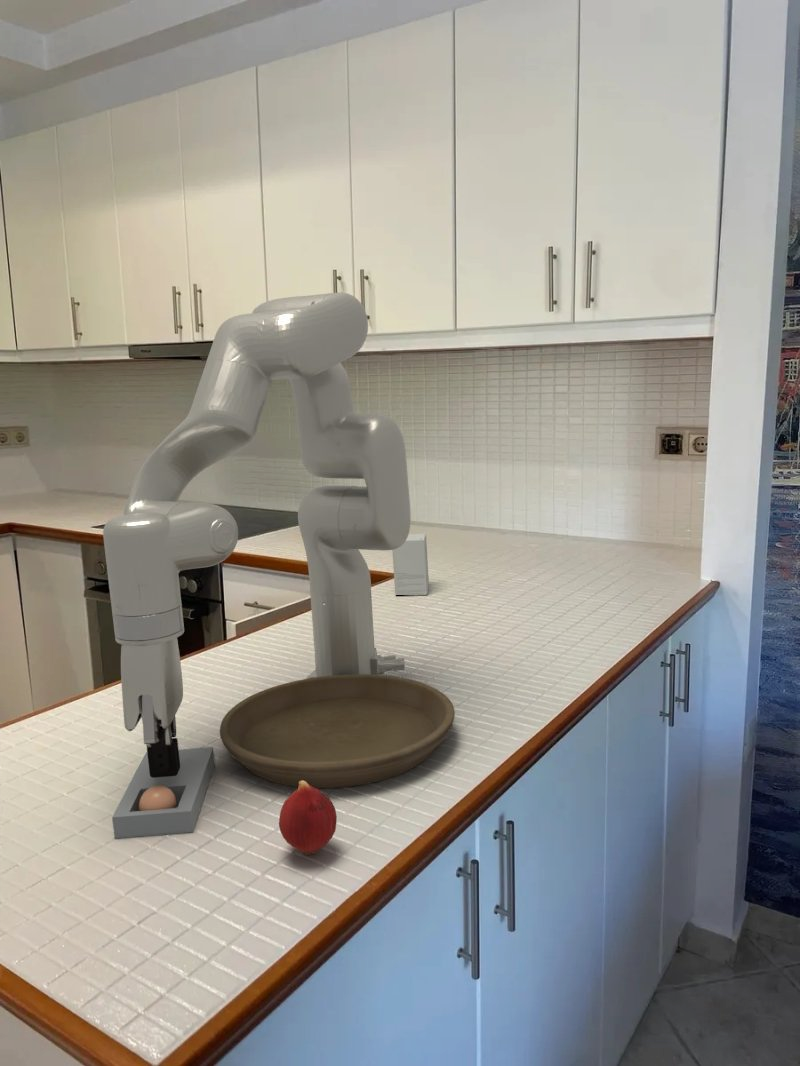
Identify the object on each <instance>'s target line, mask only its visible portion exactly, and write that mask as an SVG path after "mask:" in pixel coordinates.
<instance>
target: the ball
mask: <svg viewBox="0 0 800 1066" xmlns="http://www.w3.org/2000/svg"><path fill="white" fill-rule="evenodd" d="M172 808H177V806H176V798H175V795H174V793H173V792H172V791H171V790H170V789H169V788H167V787H165V786H160V785H159V786H153V787H151V788H149V789H147V790H146V791H145V792H144V793H143V795H142V796H141V798H140V802H139V810H140V811H147V810H160V809H172Z"/></svg>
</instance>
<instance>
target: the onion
mask: <svg viewBox="0 0 800 1066" xmlns="http://www.w3.org/2000/svg"><path fill="white" fill-rule="evenodd" d="M337 816H338V815H337V811H336V807H335V805H334V803H333V801H332V800H331V799H330V798H329V797H328V796H327V795H326V794H325V793H323V792H322V791H321V790H320V789H319V788H313V787H312V786H310V785H308V784H307V782H306V781H299V787H298V788H297V789H296V790H294V791H293V792H292V793H291V794H290V795H289V796H288V797H287V798H286V800H284V802H283V804H282V806H281V810H280V811H279V819H278V826H279V827H278V828H279V830H280V833H281V836H282V837H283V839H284V841H286V843H287V844H288V845H290V846H291V847H293V848H294V849H295V850H298V851H299V852H301V853H303V854H305V855H308V856H309V855H313V854H314V853H316V852H318V851H320V850H321V849H323V848H324V847H326V845H327V844H328V843H329V842H330V841H331V840H332V838H333V836H334V835H335V832H336V828H337Z"/></svg>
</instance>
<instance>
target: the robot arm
mask: <svg viewBox="0 0 800 1066" xmlns="http://www.w3.org/2000/svg"><path fill="white" fill-rule="evenodd" d="M368 331H369V319H368V315H367V312H366V310H365V308H364V305H363V304H362V303H361V301H359V299H358V298H357V297H355V296H353V295H352V294H349V293H347V292H330V293H322V294H321V293H319V294H313V295H299V296H298V295H297V296H290V297H282V298H276V299H271V300H267V301H264V302H262V303H260V304H259V305H257V306H256V307H255V308H254V309H253V311H252V312H251V313H244V314H238V315H235V316H232V317H229V318H228V319H226V320H225V321H224V322H223V323H221V324H220V326H219V327H218V329H217V331H216V333H215V336H214V339H213V341H212V345H211V347H210V350H209V353H208V356H207V359H206V363H205V364H204V369H203V371H202V375H201V377H200V380H199V383H198V386H197V389H196V392H195V394H194V398H193V402H192V405H191V407H190V410H189V411H188V412H189V413H188V414H187V416H186V417H185V419H184V420H183V421H182V422H180V423H179V424H178V425H177V426H176V427H175V428H174V429H173V430H172V431H171V432H170V433H169V434H168V435H167V436H166V437H165V438H164V439H163V440H162V441H161V442H160V443H159V445H157V447H156V448H155V449H154V450H153V451H152V452H151V453H150V454H149V456H148V457H147V458H146V459H145V461H144V462H143V464H142V465H141V467H140V469H139V471H138V472H137V474H136V476H135V478H134V481H133V484H132V486H131V489H130V492H129V495H128V498H127V501H126V504H125V507H124V512H123V514H122V515H119V516H115V517H112V518H111V519H109V520H107V522H106V523H105V524H104V526H103V531H102V532H103V533H102V535H103V547H104V553H105V561H106V563H105V564H106V570H107V580H108V589H109V595H110V596H109V597H110V604H111V612H112V613H111V614H112V620H113V631H114V638H115V639H114V640H115V642H116V643H117V644H119V645H121V646H120V647H121V648H120V676H121V679H120V681H121V696H122V699H121V700H122V711H123V721H124V722H123V725H124V728H125V729H126V731H128V732H132V731H134V730H135V729H136V727H138V726H137V725H138V724H139V722H140V721H142V730H143V731H142V732H143V733H142V734H143V744H144V745H145V746H146V752H147V755H148V763H149V772H150V776H151V777H152V778H157V777H170V776H176V775H177V774H178V772H179V769H180V759H179V750H180V749H179V743H178V737H177V723H176V721H177V720H176V715H177V712H178V710H179V708H180V706H181V704H182V701H183V697H184V686H183V684H184V682H183V672H182V664H181V655H180V649H179V644H178V643H179V640H178V638H179V637H181V636H182V635H183V634H184V632H185V626H184V616H183V604H182V596H181V587H180V577H179V573H180V572H181V571H185V570H192V569H201V568H209V567H213V566H216V565H218V564H220V563H222V562H223V561H225V560H226V559H228V558H229V557H230V556H231V554H232V553H234V551H235V548H236V547H237V544H238V541H239V528H238V524H237V520H235V518H234V516H233V515H232V514H231V513H230V512H229V511H228V510H226V508H223V507H221V506H220V505H216V504H212V503H205V502H189V501H188V502H186V501H184V502H183V501H179V499H180V497H181V495H182V494H183V492H184V490H185V489H186V487H187V486H188V485H189V484H190V483H191V481H193V479H194V478H196V477H197V476H198V475H199V474H200V473H201V472H203V471H204V470H206V469H207V468H209V467H211V466H213V465H215V464H217V463H218V462H220V461H222V460H225V459H226V458H228V457H230V456H232V455H234V454H236V453H237V452H239V451H241V450H243V449H244V448H247V447H248V446H249V445H250V444H251V443H252V442H253V441H254V439H255V437H256V435H257V432H258V430H259V429H258V428H259V425H260V422H261V418H262V414H263V411H264V408H265V404H266V401H267V398H268V396H269V392H270V389H271V386H272V383H273V382H274V381H275V380H276V381H277V380H288V381H289V384H290V386H291V389H292V394H293V399H294V405H295V415H296V424H297V431H298V441H299V448H300V454H301V455H300V456H301V460H302V465H303V466H304V469H305V470H306V471H307V472H308V473H309V474H310V475H312V476H314V477H317V478H323V479H352V480H355V479H356V480H360V479H361V480H362V479H363V480H364V481H365V484H366V486H357V485H325V486H323V485H322V486H318V487H316V488H313V489H312V490H310V491H309V492H306V494H305V495H304V496H303V497H302V499H301V501H300V503H299V506H298V510H297V511H298V512H297V521H298V527H299V532H300V535H301V538H302V539H301V540H302V542H303V546H304V551H305V555H306V561H307V568H308V569H307V570H308V579H309V591H310V592H309V593H310V594H309V595H310V607H311V609H310V610H311V623H312V632H313V633H312V635H313V646H314V647H313V648H314V649H313V650H314V662H315V670H313V671H312V672H311V673H309V675H307V677H306V679H308V678H315V677H323V676H333V675H354V674H367V675H384V676H387V674H386V672H388V671H393V672H396V671H397V672H399V671H405V658H404V657H400V658H399V657H398V658H396V654H395V655H393V654H392V655H387V656H382V655H381V654H377V653H378V652H377V648H376V647H375V635H374V633H375V632H374V617H373V616H374V615H373V613H374V612H373V599H372V598H373V597H372V582H371V579H372V578H371V573H370V569H369V567H368V566H369V565H368V564H367V561H366V559H365V558H364V556H363V554H362V552H361V551H360V550H364V551H365V550H366V551H381V552H382V551H386V552H387V551H392V550H394V549H397V548H399V547H400V546H402V545H403V544H404V542H405V541H406V539H407V537H408V534H410V531H411V530H410V529H411V522H412V521H411V501H410V500H411V499H410V490H409V478H408V477H409V475H408V466H407V465H408V464H407V454H406V445H405V439H404V436H403V434H402V431H401V429H400V427H399V425H398V424H397V422H395V420H394V419H393V418H391V417H390V416H388V415H385V414H380V413H356V411H355V408H354V404H353V403H354V402H353V397H352V396H353V395H352V390H351V382H350V379H349V375H348V373H347V371H346V369H345V368H344V366H343V364H342V362H345V361H346V360H348V359H350V358H351V357H353V356H355V355H356V354H357V353H358V352H359V351H360V350H361V349H362V347H363V346H364V344H365V342H366V340H367V339H366V338H367V336H368Z"/></svg>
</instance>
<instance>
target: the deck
mask: <svg viewBox="0 0 800 1066" xmlns="http://www.w3.org/2000/svg"><path fill="white" fill-rule="evenodd" d="M178 750H179V759H180V769H179V772H178V774H177V775H176V776H170V777H157V778H152V777H151V776H150V772H149V763H148V755H147V751H146V752H145V754H144V756H143V758H142V759H141V761H140V763H139V765H138V767H137V769H136V771H135V773H134V775H133V776H132V778H131V781H130V782H129V784H128V787H127V788H126V790H125V792H124V794H123V795H122V798H121V799H120V801H119V803H118V806H117V807H116V809H115V811H114V813H113V814H112V816H111V818H112V827H113V835H114V839H124V838H126V839H127V838H137V837H151V836H161V835H163V836H165V835H173V834H174V835H175V834H176V835H177V834H185V833H189V834H190V833H194V831H195V829H196V828H195V827H196V825H197V821H198V818H199V815H200V812H201V809H202V806H203V804H204V800H205V797H206V794H207V791H208V789H209V785H210V783H211V779H212V775H213V773H214V769H215V767H216V762H215V751H214V746H213V747H212V746H209V747H198V748H197V747H196V748H195V747H194V748H184V749H178ZM159 785H160V786H165V787H167V788H169V789H170V790H171V791H172V792H173V793H174V795H175V798H176V808H172V809H160V810H147V811H140V810H139V802H140V798H141V796H142V795H143V793H144V792H145V791H146V790H147V789H149V788H151V787H153V786H159Z"/></svg>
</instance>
